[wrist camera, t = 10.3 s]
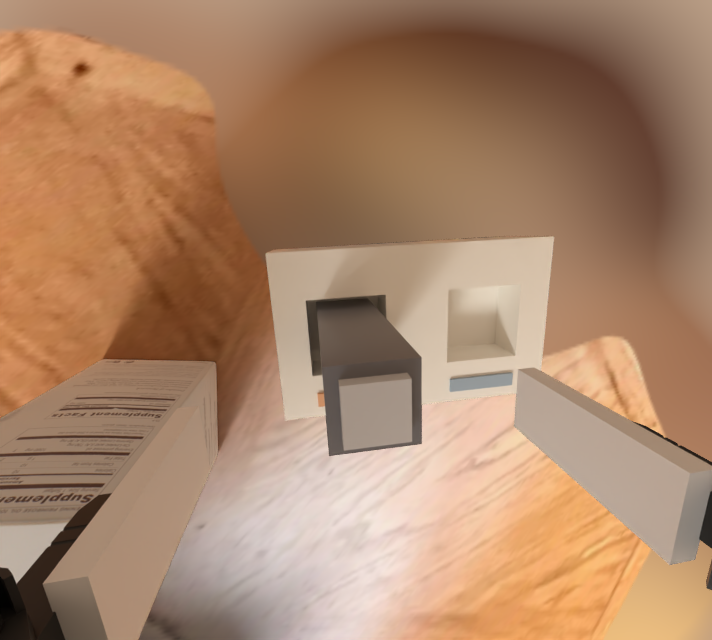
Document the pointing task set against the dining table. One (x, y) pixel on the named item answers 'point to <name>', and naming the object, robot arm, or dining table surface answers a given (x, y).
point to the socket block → (418, 310)
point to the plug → (367, 379)
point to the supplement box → (89, 444)
